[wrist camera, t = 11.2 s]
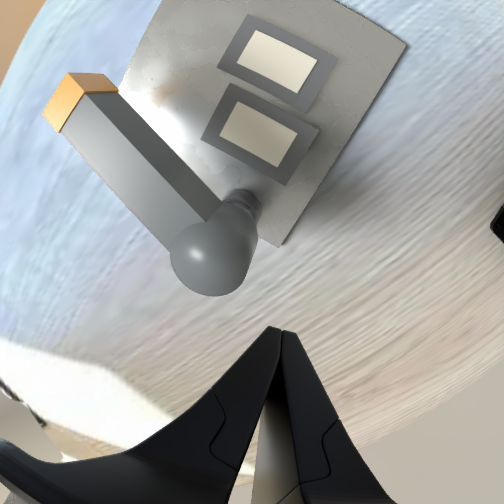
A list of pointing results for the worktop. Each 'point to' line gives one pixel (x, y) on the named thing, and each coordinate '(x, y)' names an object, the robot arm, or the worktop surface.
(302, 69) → the label tile
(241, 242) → the swing arm
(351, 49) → the plate
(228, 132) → the label tile
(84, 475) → the robot arm
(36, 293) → the worktop surface
